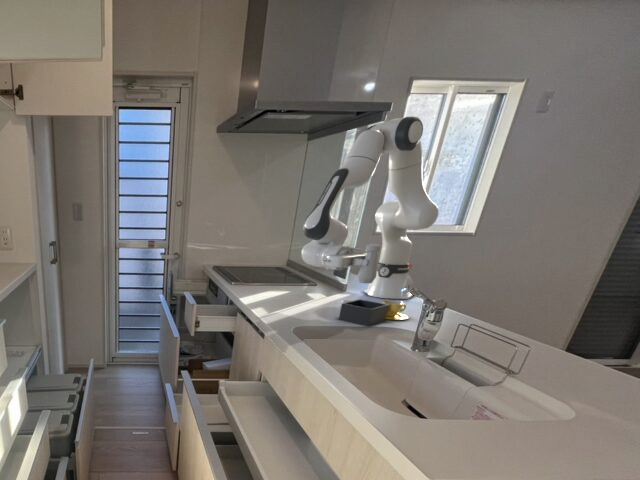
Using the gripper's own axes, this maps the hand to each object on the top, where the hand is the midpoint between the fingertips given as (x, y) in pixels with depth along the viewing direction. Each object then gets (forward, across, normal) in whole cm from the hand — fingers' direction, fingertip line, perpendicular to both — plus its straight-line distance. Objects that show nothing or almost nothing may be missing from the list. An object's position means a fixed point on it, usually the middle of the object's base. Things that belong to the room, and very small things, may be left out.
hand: (372, 262), depth 143 cm
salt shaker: (-1, 0, +7) cm, 7 cm away
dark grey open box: (+2, -1, +20) cm, 20 cm away
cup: (+4, +12, +20) cm, 23 cm away
